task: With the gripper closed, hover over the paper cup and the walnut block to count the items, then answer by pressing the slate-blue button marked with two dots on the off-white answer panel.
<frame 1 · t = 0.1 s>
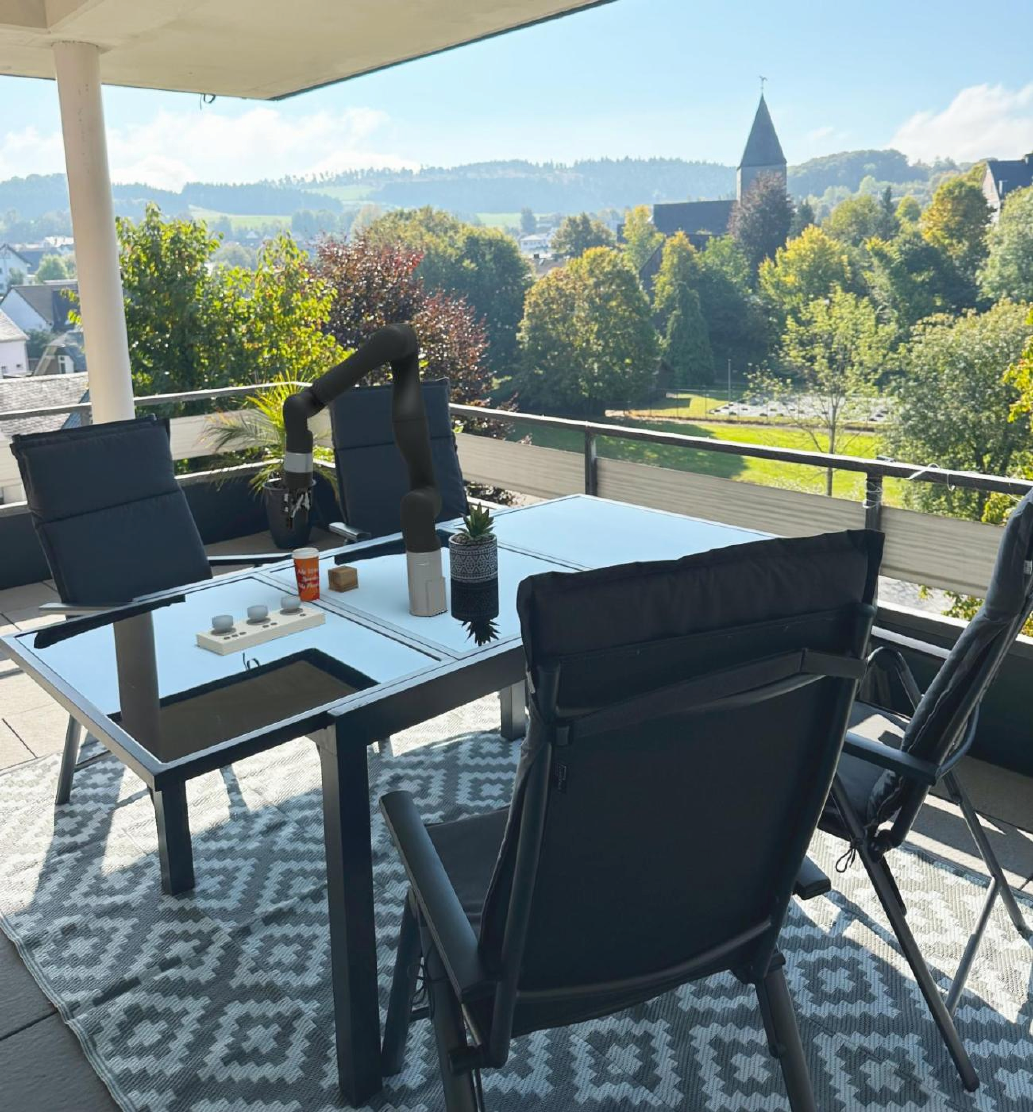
hand: (296, 526, 270), 22 cm above the table, tool pointing down, fingers open, 8 cm apart
paper cup: (309, 599, 283), on the table
walnut block: (343, 589, 291), on the table
one-dot button: (290, 602, 260), point 6 cm above the table, slide at 0.0 cm
two-dot button: (257, 611, 253), point 6 cm above the table, slide at 0.0 cm
answer panel: (263, 634, 254), on the table
three-dot button: (222, 622, 246), point 6 cm above the table, slide at 0.0 cm
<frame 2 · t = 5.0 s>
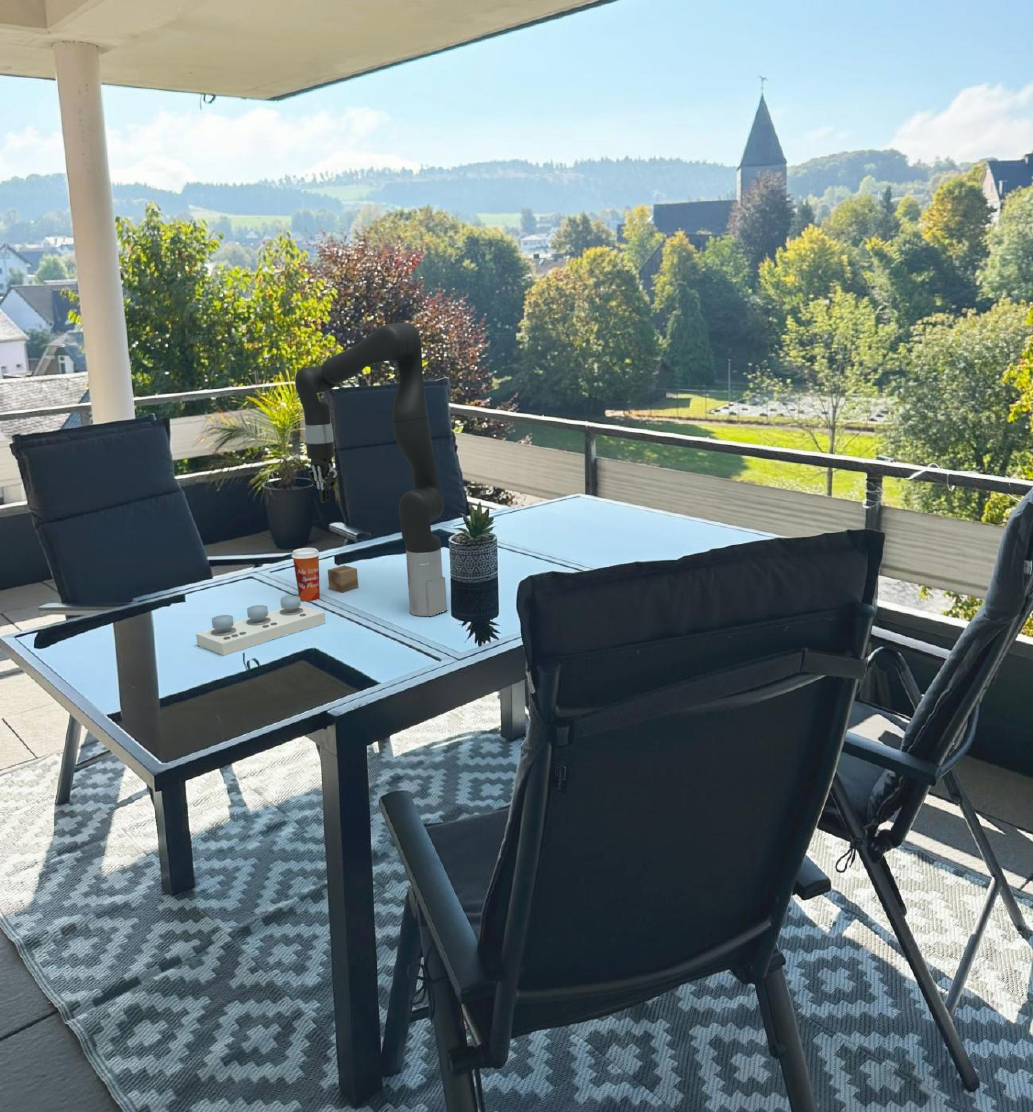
hand: (325, 502, 279), 27 cm above the table, tool pointing down, fingers closed
nothing on the table moved.
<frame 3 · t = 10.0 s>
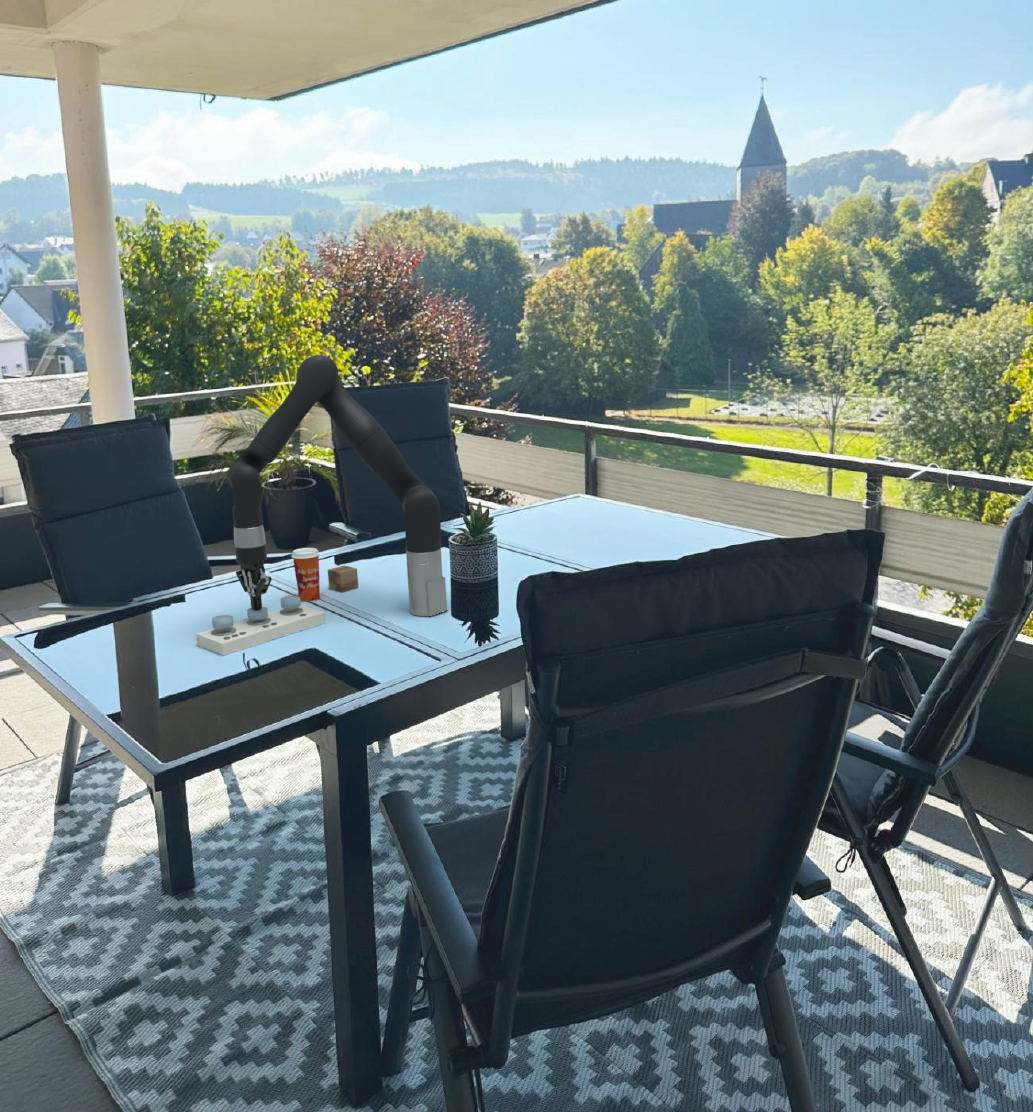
hand: (256, 609, 253), 6 cm above the table, tool pointing down, fingers closed
two-dot button: (257, 613, 253), point 5 cm above the table, slide at 0.4 cm, touching gripper
everything else where it was.
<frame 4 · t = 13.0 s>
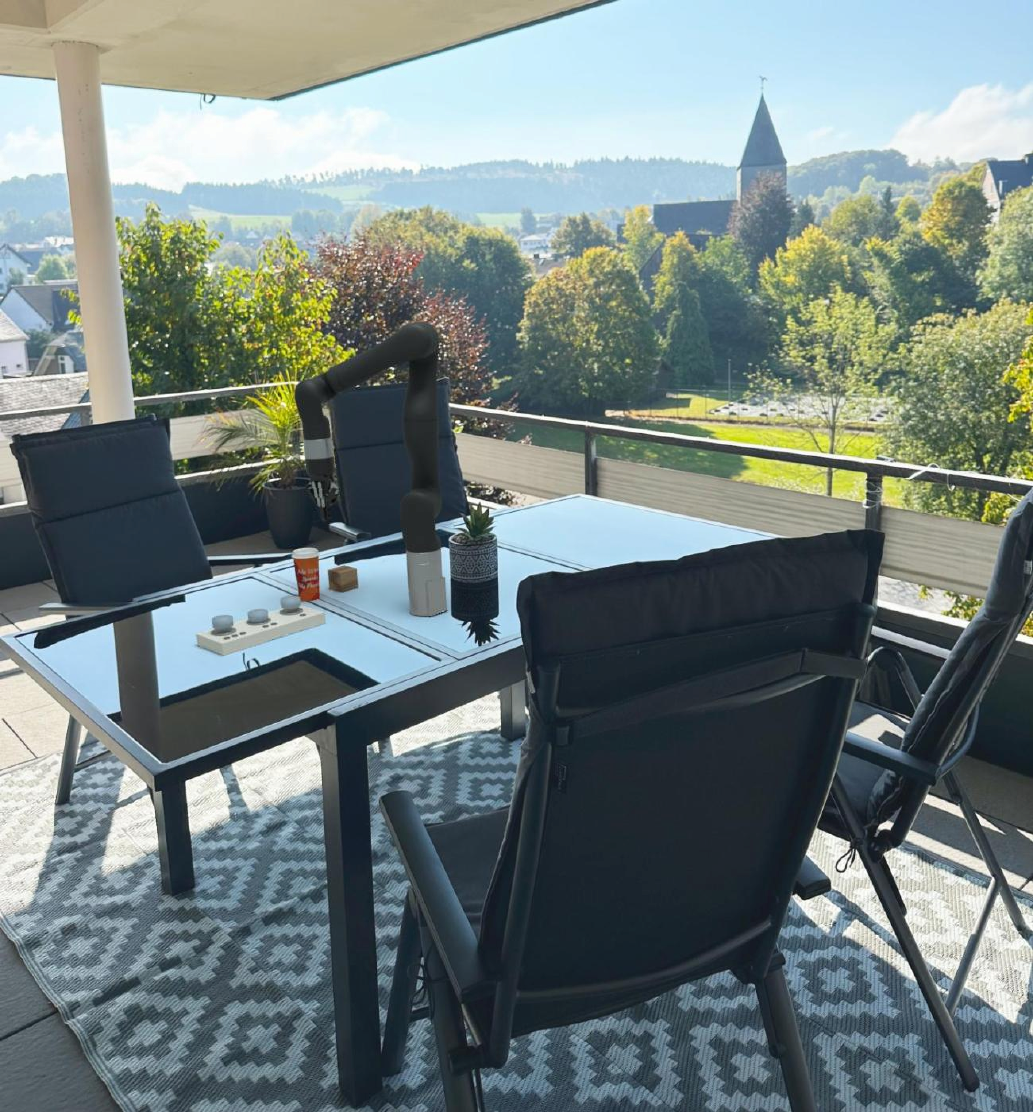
hand: (326, 520, 266), 25 cm above the table, tool pointing down, fingers closed
two-dot button: (257, 615, 254), point 5 cm above the table, slide at 1.0 cm
everything else where it was.
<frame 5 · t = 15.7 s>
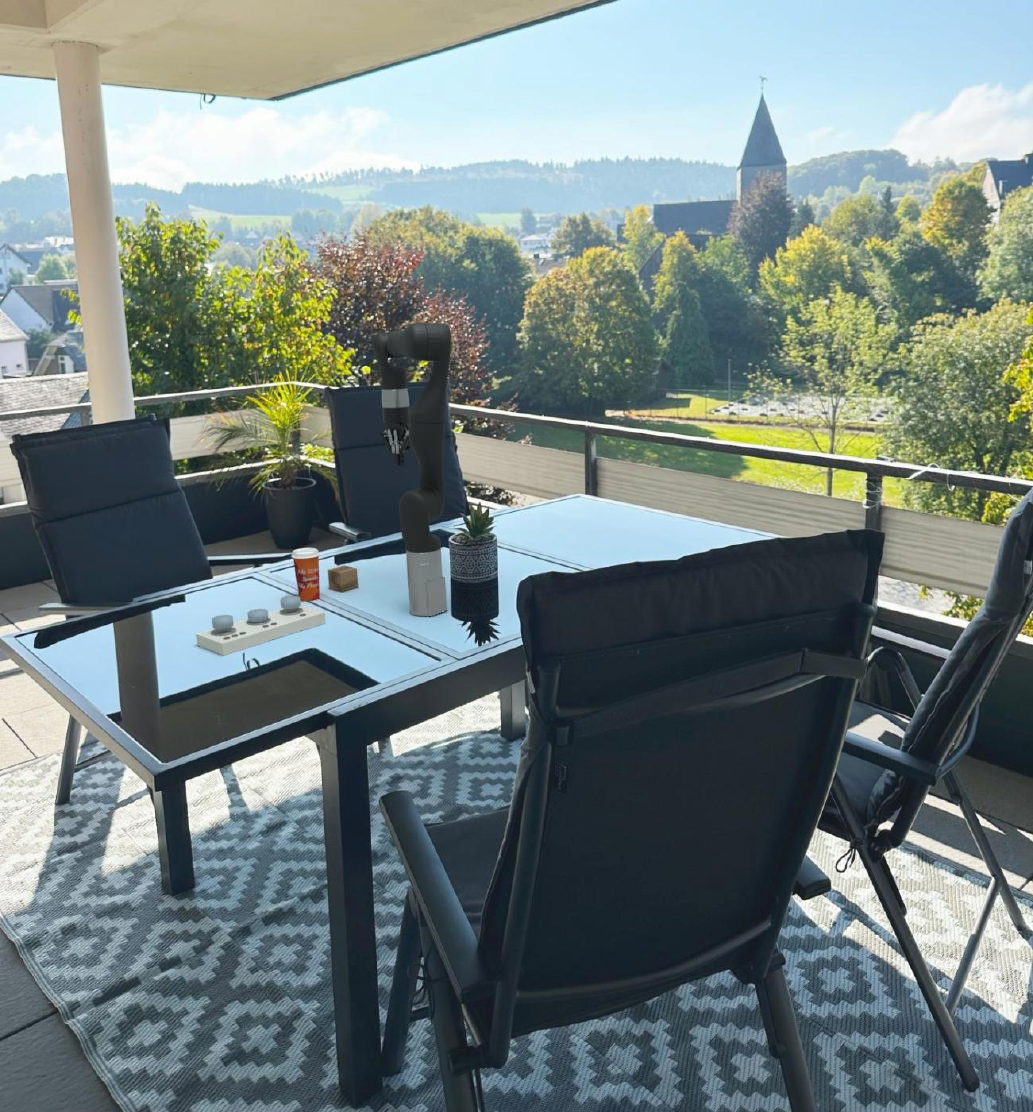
hand: (399, 466, 284), 35 cm above the table, tool pointing down, fingers closed
nothing on the table moved.
at the end: two-dot button slide at 1.0 cm; one-dot button slide at 0.0 cm; three-dot button slide at 0.0 cm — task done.
